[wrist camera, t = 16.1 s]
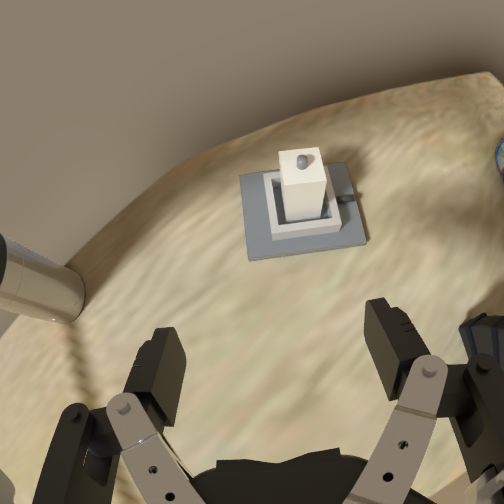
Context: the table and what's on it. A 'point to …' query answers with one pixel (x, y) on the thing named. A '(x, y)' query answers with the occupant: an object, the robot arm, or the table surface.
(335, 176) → the charging dock
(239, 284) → the table surface
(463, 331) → the magazine
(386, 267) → the table surface
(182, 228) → the table surface
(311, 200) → the block
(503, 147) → the lunch box
